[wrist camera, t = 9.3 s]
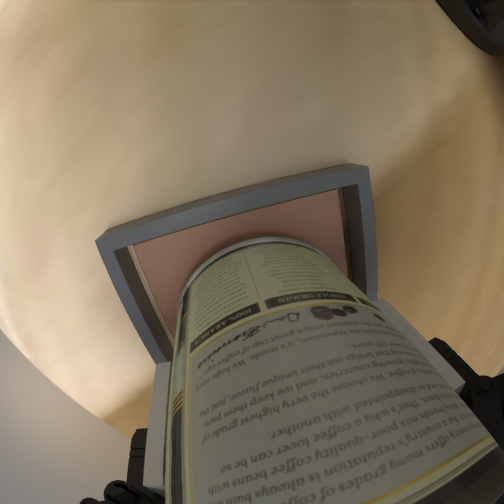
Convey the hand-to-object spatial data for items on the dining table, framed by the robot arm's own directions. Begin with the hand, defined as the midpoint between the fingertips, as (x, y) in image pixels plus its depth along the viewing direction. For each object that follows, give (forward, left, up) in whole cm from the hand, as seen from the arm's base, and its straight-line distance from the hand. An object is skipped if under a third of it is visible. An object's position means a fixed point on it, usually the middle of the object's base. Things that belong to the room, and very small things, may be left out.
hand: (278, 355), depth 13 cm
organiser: (0, +7, -5) cm, 8 cm away
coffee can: (0, 0, -3) cm, 3 cm away
